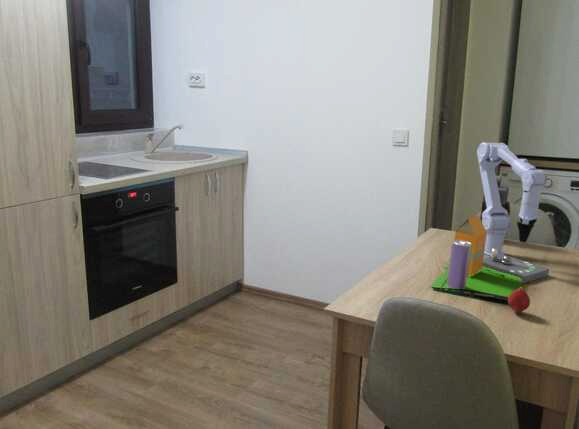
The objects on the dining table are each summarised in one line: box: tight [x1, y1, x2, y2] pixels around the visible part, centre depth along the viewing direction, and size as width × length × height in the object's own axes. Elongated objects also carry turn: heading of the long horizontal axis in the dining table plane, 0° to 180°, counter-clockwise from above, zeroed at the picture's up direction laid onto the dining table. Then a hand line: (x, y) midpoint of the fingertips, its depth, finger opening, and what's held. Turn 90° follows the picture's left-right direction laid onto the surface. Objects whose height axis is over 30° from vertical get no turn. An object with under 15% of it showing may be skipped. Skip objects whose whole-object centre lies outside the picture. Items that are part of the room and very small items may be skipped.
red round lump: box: [507, 286, 531, 314], centre depth 152 cm, size 6×6×8 cm
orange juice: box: [454, 214, 487, 275], centre depth 184 cm, size 8×9×20 cm
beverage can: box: [446, 239, 472, 291], centre depth 169 cm, size 6×6×15 cm
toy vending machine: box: [479, 175, 512, 221], centre depth 226 cm, size 9×11×28 cm
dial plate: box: [482, 254, 550, 284], centre depth 189 cm, size 19×16×3 cm
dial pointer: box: [491, 248, 532, 268], centre depth 188 cm, size 14×4×4 cm, turn 55°
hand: (523, 239), depth 193 cm, fingers open, 7 cm apart
